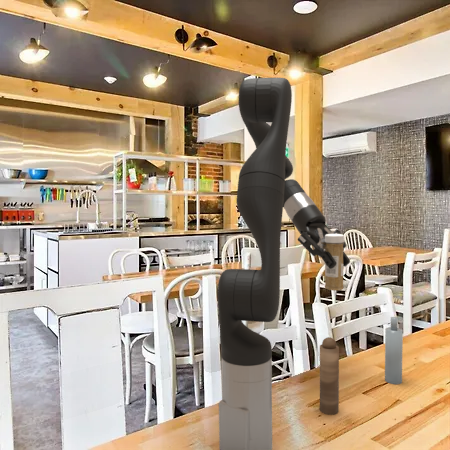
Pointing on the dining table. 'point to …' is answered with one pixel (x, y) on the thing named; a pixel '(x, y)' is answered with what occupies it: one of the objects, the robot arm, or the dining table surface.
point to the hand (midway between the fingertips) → (340, 265)
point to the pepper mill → (329, 377)
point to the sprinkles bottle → (336, 250)
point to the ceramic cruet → (393, 352)
